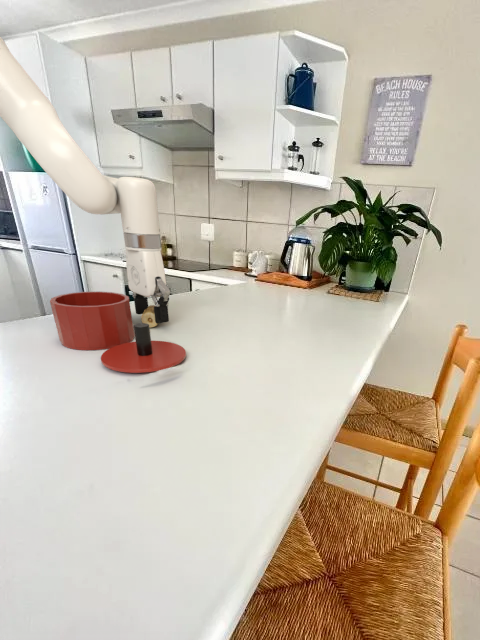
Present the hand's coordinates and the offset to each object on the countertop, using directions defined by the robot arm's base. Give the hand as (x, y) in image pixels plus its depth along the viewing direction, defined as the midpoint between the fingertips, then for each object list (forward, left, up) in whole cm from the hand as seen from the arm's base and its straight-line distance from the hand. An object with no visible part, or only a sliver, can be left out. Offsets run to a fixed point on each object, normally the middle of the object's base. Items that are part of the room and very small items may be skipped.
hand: (152, 317), depth 80 cm
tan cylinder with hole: (0, 0, -2) cm, 2 cm away
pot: (+4, -14, -1) cm, 15 cm away
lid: (+20, -12, -1) cm, 23 cm away
